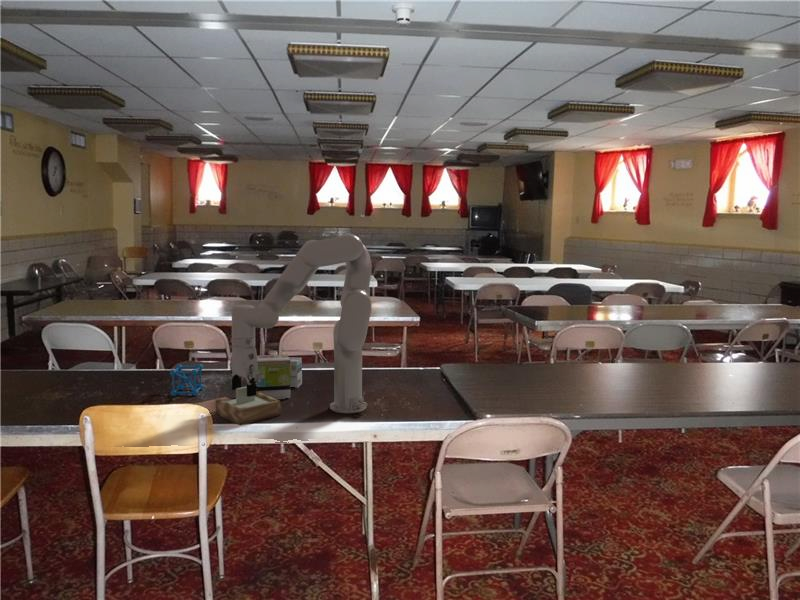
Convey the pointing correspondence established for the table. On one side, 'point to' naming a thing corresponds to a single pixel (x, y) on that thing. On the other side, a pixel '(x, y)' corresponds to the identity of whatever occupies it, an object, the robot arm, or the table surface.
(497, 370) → the table surface
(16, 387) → the table surface
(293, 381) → the light bulb box
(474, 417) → the table surface
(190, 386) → the molecular structure
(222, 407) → the oak box
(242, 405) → the cover plate
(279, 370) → the tea box
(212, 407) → the terracotta tile
